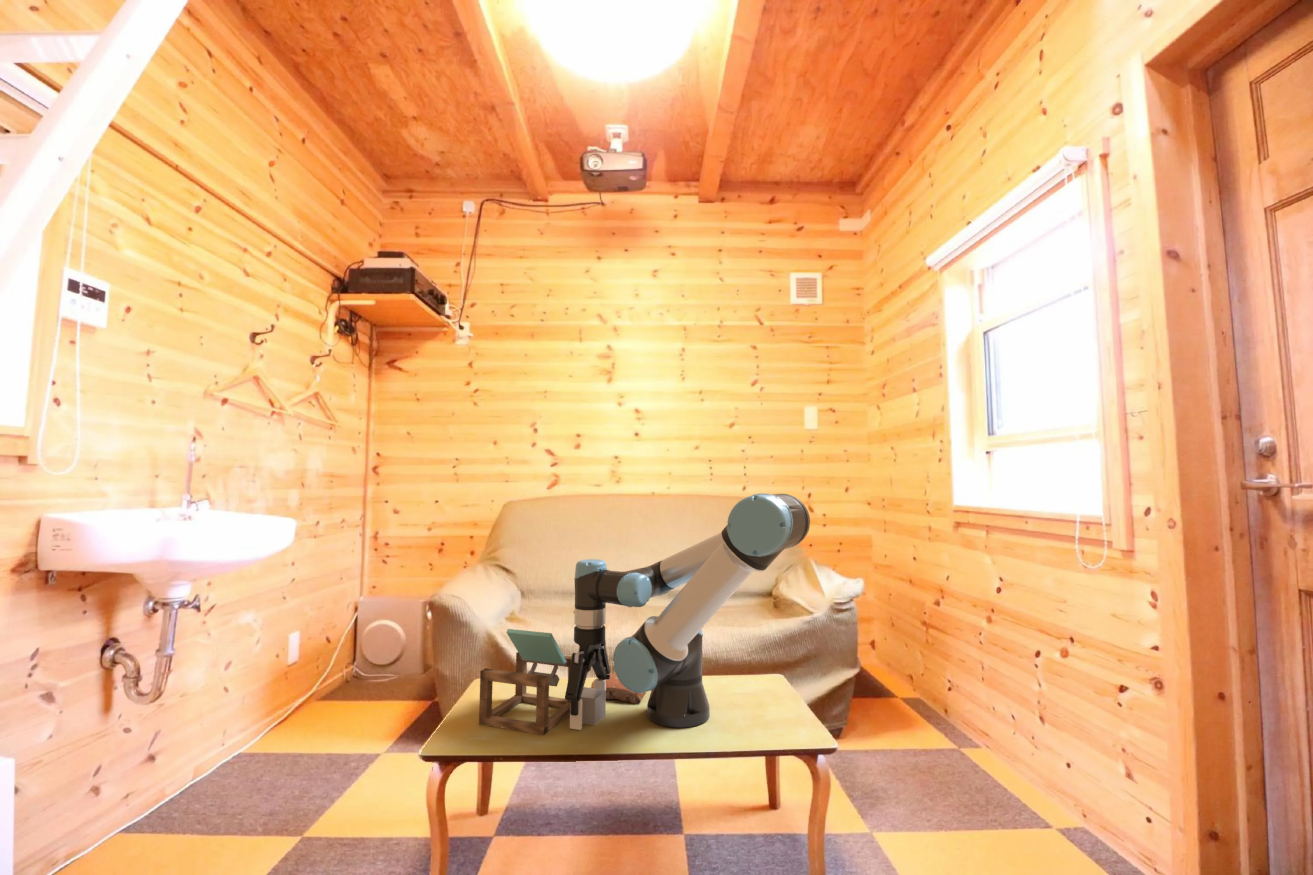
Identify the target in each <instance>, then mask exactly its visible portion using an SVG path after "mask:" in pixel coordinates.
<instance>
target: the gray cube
mask: <svg viewBox="0 0 1313 875" xmlns="http://www.w3.org/2000/svg"><path fill="white" fill-rule="evenodd" d="M580 699H582V725H591V726H596V725H597V724H598V723H599V722H600V721H601V720H602V719H604V718H605V717H606V712H607V710H606V708H607V706H606V704H607V702H606V701H607V699H606V690H602V689H594V688H591V687H588V686H587V687H586V686H584V687H583V691H582V695H581V698H580Z"/></svg>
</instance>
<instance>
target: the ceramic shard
mask: <svg viewBox="0 0 1313 875" xmlns="http://www.w3.org/2000/svg"><path fill="white" fill-rule="evenodd" d="M608 675H610V679H609V680H608V679H605V680H606V700H619V701H622V702H626V703H627V702H628V703H631V704H636V705H638V703H640V704H641V703H642V700H643V698H644V696H645V694H646V693H647V692H644V693H635V692H632V691H630V690H628V689H627V688H626V687H625V686H624V685H623V684H622V683H621V682H620V680H619V679H618V677H617V675H616V672H613V673H610V674H608ZM590 688H594V689H595V679H594V680H593V681H592V682H591V686H590Z"/></svg>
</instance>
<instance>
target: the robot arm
mask: <svg viewBox="0 0 1313 875" xmlns="http://www.w3.org/2000/svg"><path fill="white" fill-rule="evenodd" d="M810 516H811V515H810V514H809V510H808V508H807V506H806V505H805V504H804V502H802V501H801V500H800V499H799V498H797V497H796V496H794V495H791V494H788V493H771V494H770V493H755V494H752V495H749V496H747V497H744V498H742V499H740V500H739V501H738V502H737V503H736V504H735V505H734V506H733V508H731V510H730V512H729V514H728V517H727V522H726V523H727V524H726V525H725V527H724V528H723V529H722V531H721V532H718V533H717V534H715V535H713V536H711V537H708V538H706V539H704V540H702V541H700V542H697V543H696V544H694V545H692V546H689V547H687V548H685V549H683V550H681V551H679V552H677V553H674V554H672V555H670V556H668V557H666V558H664V559H662V560H659V561H657V562H655V563H652V564H651V565H647V566H645V567H641V568H640V567H639V568H636V569H631V570H626V571H619V570H618V571H617V570H609V569H608V567H607V562H606V561H605V560H603V559H596V558H594V559H592V558H591V559H590V558H589V559H581V560H579V561H577V562H576V564H575V570H574V571H575V573H574V610H573V614H574V620H573V621H574V625H575V626H574V627H573V641H574V643H575V644H576V645H578V647H579V648H578V652H572V654H571V657H572V664H571V669H570V674H569V679H568V678H567V685H566V690H565V693H564V695H565V696H564V699H566V700H570V714H569V729H572V730H578V731H581V730H582V729H583V723H582V699H580V698H581V695H582V691H583V687H585V684H586V680H587V676H588V673H589V672H591V669H592V670H593V672H594V674H595V677H596V678H595V679H594V680H595V689H602V690H606V680H605V679H608V680H609V679H610V675H609V674H611V668H610V663H609V659H608V653H607V652H608V651H607V648H606V647H607V645H606V644H607V643H606V642H607V641H606V626H605V624H606V621H607V620H606V619H607V616H606V614H607V613H606V612H607V608H606V605H607V604H611V605H618V606H622V607H623V606H624V607H627V608H642V607H644V606H646V605H647V603H648V602H649V601H650V598H654V597H658V596H662V595H665V594H667V593H670V592H671V591H672V590H674V589H676V588H678V587H680V586H683V585H684V586H683V587H682V588H681V590H680V591H679V592H678V593H677V594H676V595H675V597H674V598H673V599H672V600H671V601H670V602H669V604H667V606H666V607H665V608H664V610H662V611H661V613H660V614H659V615H653V616H652V615H651V616H650V617H648V618H646V620H645V621H644V622H643V623H642V625H640V627H639V628H638V629H637V630H636V631H635V633H634V634H632V635H631V636H629V637H625V638H624V639H622V640H621V641H620V642H619V643H617V645H616V647H615V649H614V652H613V655H612V661H613V664H614V665H613V669H614V673H616V675H617V677H618V679H619V680H620V682H621V683H622V684H623V685H624V686H625V687H626V688H627V689H628V690H630V691H632V692H635V693H644V692H646V693H647V692H650V693H649V694H650V695H649V698H648V699H647V700H648V701H647V704H646V715H647V716H646V717H647V719H649V721H651V722H653V723H654V724H657V725H660V726H663V727H668V728H690V727H692V728H693V727H697V726H700V725H702V724H704V723H705V722H707V721H708V720H709V718H710V716H711V715H710V714H711V713H710V703H709V701H708V700H709V699H708V696H707V694H706V690H705V687H704V684H703V636H704V635H703V628H704V627H705V625H706V624H708V623H709V621H710V620H712V618H713V617H714V616H715V615H716V614H717V612H718V611H719V610H721V608H722V607H723V606H724V604H726V603H727V601H728V600H729V599H730V598H731V597H732V595H734V594H735V592H736V591H737V590H738V589H739V588H740V587H741V586H742V585H743V584H744V582H745V581H746V580H747V579H748V578H749V577H750V576H751V575H752V573H753V572H760V573H761V572H764V571H766V570H767V568H769V566H770V565H771V564H772V563H773V562H774V561H775V560H776V559H777V558H778V556H779V555H781V553H782V552H783V551H784V550H788V549H791V548H794V547H795V546H797V545H799V544H800V543H801V542H802V541H803V540H804V539H805V538H806V536H807V535H808V533H809V531H810V527H811V518H810Z"/></svg>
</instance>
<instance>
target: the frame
mask: <svg viewBox="0 0 1313 875" xmlns="http://www.w3.org/2000/svg"><path fill="white" fill-rule="evenodd" d="M515 654H516V655H515V671H511V670H503V669H494V668H487V667H486V668H483V669H481V670H480V671H479V672H480V673H479V674H480V675H479V676H480V678H479V679H480V681H479V707H478V708H479V710H478V711H479V712H478V724H479V725H480V724H485V725H484V726H486V725H489V726H488V727H492V726H495V727H494V728H498V727H503V728H502V729H504V728H507V729H506V730H511V731H518V732H522V733H523V732H524V733H529V734H534V735H540V736H541V735H542V736H545V735H546V734H547V733H548V732H549V731H550V730H552V729H553V728H554V727H555V726H557V725H558V724H559V723H560V722H561V721H563V720H564V719H565V718H566V717H567V716H570V700H566V699H565V697H564V698H563V697H558V696H550V686H549V676H542V675H534V674H528V672H527V671H528V663H532V664H533V663H537V665H538V664H539V665H540V664H541V665H549V666H554V665H555V664H547V663H539V662H530V661H523V660H522V657H521V656H520V654H519V652H518V651H517V652H516V653H515ZM563 656H564V657H565V659H566V661H567V666H564V665H555V666H558V667H564V668H565V667H566V668H568V669H567V680H568V679H569V674H570V669H571V664H572V655H570V656H569V655H563ZM494 682H495V683H501V684H502V683H503V684H509V685H515V689H514V691H515V693H514V694H515V695H513V696H510V697H509V698H508V699H506V700H505V701H504V702H501V703H500V704H499V705H497V706H496V707H494V708H493V683H494ZM527 687H530V688H536V694H535V693H527ZM521 703H526V704H527V703H528V704H533V705H535V706H536V708H535V711H536V712H535V721H529V720H523V719H517V718H510V717H504V715H505V714H506V713H507V712H509V711H510V710H512V709H513V708H515V707H517V706H518V705H520V704H521ZM549 707H554V708H558V709H557V710H556V711H554V712H553V713H552V714H550V715H549Z"/></svg>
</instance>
